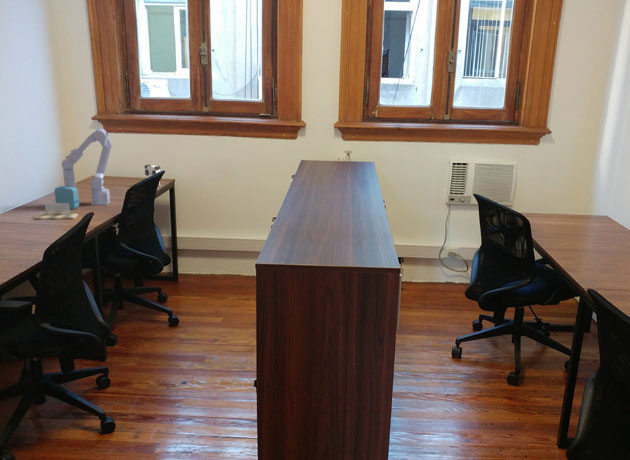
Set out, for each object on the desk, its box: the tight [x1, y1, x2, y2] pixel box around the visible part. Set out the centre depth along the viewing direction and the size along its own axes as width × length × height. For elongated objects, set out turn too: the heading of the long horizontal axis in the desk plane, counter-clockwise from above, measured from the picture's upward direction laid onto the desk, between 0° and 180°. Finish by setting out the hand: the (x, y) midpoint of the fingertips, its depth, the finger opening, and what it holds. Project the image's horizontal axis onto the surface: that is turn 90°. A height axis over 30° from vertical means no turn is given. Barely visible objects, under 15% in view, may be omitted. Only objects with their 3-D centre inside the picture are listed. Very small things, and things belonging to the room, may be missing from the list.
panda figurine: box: [144, 164, 161, 186], centre depth 375 cm, size 12×11×15 cm
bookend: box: [33, 202, 79, 221], centre depth 298 cm, size 20×8×7 cm, turn 97°
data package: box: [54, 185, 80, 210], centre depth 318 cm, size 12×4×12 cm, turn 77°
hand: (71, 202), depth 326 cm, fingers closed
